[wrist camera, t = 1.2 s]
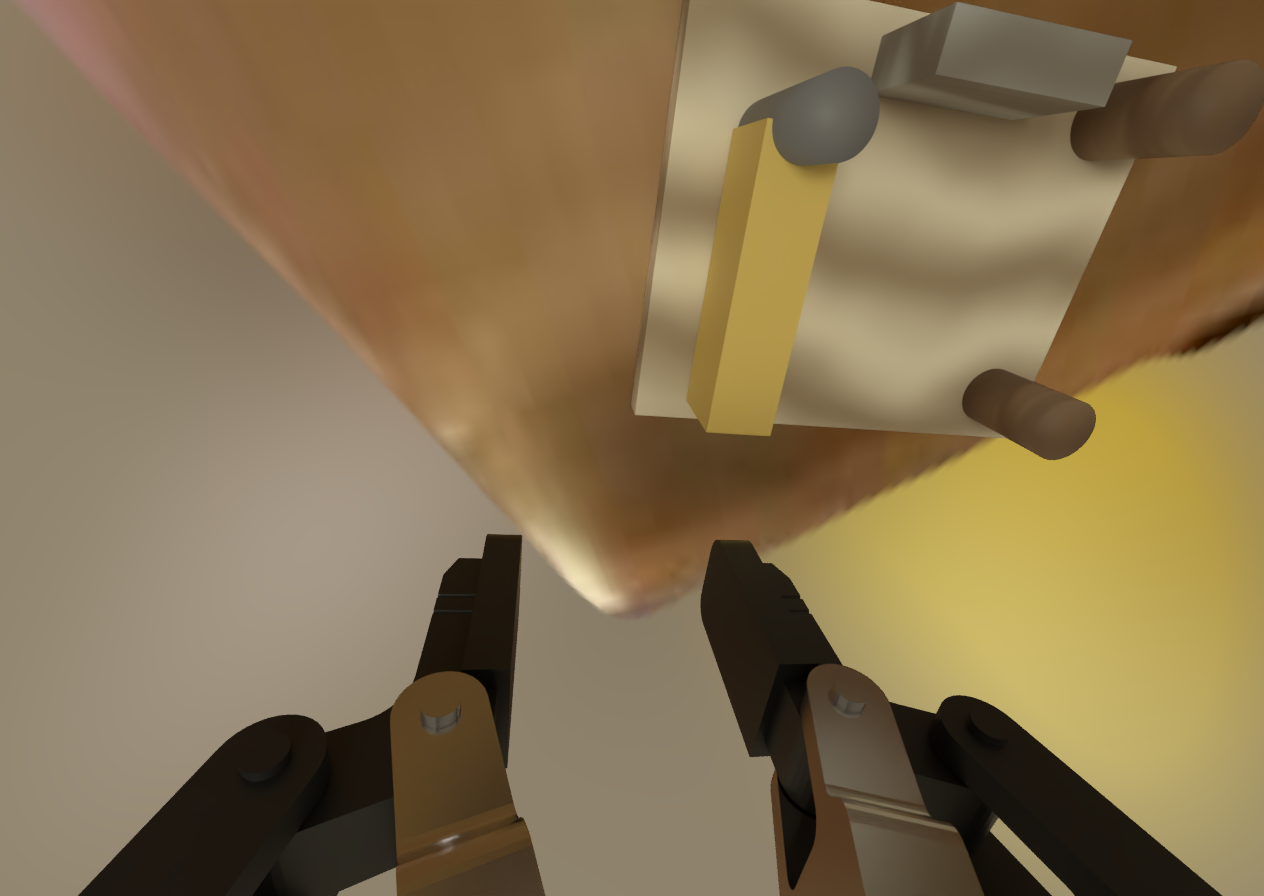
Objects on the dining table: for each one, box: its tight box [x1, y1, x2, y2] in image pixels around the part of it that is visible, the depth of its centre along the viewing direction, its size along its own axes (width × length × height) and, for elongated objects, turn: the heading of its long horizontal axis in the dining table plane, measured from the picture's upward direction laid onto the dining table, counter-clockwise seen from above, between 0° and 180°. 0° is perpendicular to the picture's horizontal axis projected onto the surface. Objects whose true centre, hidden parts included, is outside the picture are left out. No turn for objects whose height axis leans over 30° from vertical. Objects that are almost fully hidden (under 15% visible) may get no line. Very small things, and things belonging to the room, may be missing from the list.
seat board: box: [631, 0, 1264, 460], centre depth 24 cm, size 18×22×6 cm
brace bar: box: [686, 66, 880, 436], centre depth 22 cm, size 13×3×6 cm, turn 173°
